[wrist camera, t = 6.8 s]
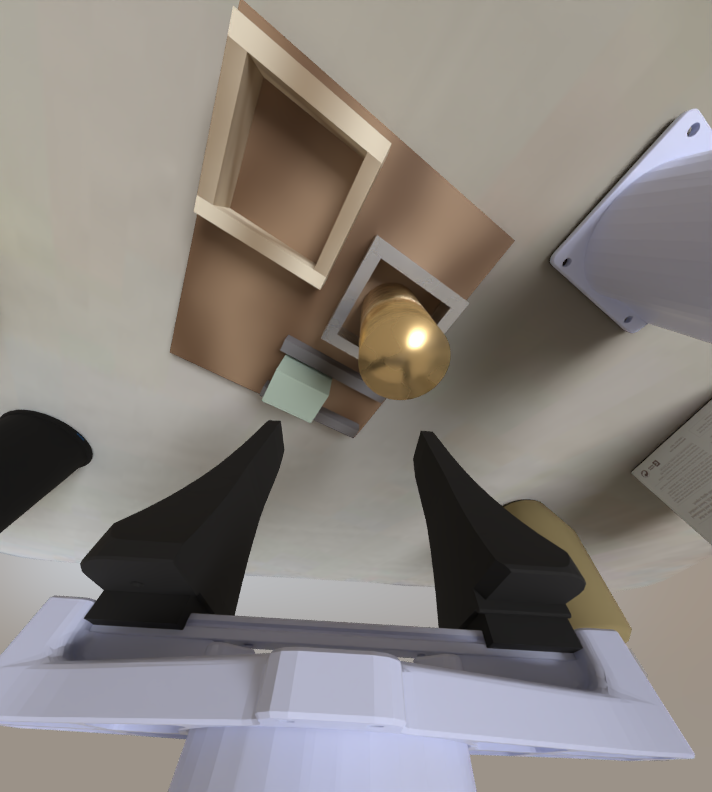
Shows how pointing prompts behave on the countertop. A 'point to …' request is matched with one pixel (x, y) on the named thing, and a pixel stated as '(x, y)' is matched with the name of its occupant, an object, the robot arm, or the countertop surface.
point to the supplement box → (684, 472)
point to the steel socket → (380, 249)
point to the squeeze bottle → (595, 599)
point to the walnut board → (319, 249)
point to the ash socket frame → (230, 129)
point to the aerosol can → (35, 459)
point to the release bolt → (298, 389)
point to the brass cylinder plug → (400, 344)
